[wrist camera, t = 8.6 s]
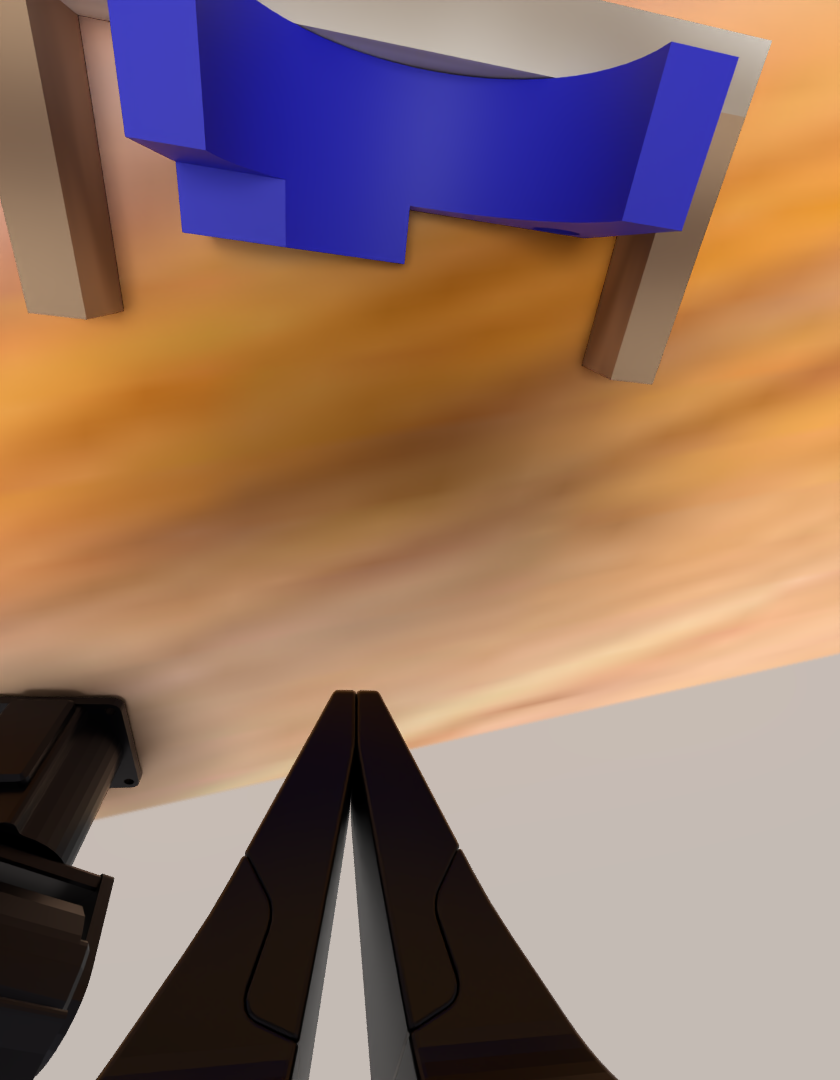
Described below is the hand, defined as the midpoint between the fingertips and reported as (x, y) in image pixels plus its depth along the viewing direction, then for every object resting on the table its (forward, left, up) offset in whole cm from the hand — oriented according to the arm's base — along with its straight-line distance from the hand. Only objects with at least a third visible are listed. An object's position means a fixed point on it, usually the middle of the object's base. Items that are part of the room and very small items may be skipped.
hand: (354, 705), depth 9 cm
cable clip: (+10, -1, -12) cm, 16 cm away
